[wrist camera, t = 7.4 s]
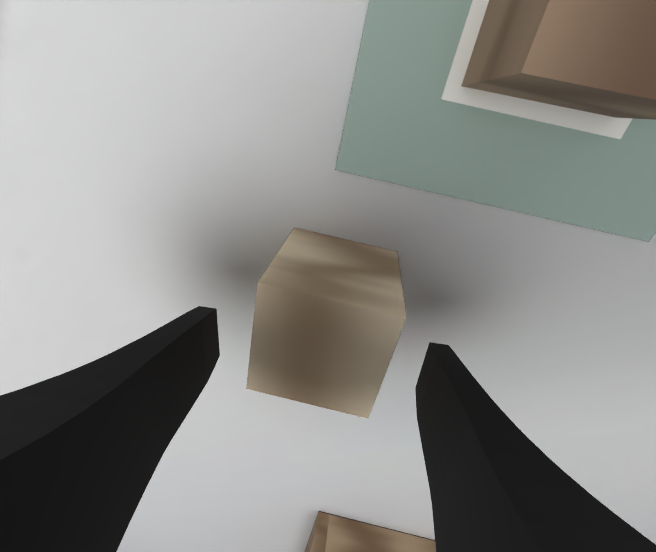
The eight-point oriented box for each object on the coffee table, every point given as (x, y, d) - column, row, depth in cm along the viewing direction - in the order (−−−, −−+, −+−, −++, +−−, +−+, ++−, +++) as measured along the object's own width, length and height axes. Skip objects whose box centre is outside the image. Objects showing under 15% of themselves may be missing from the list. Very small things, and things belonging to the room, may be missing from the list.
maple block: (397, 250, 14) (406, 318, 10) (370, 333, 16) (368, 418, 12) (294, 227, 14) (257, 282, 10) (281, 311, 16) (246, 388, 12)
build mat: (1027, -295, 7) (1055, -312, 6) (645, 240, 12) (651, 243, 12) (451, -405, 7) (454, -424, 7) (335, 168, 13) (334, 170, 12)
